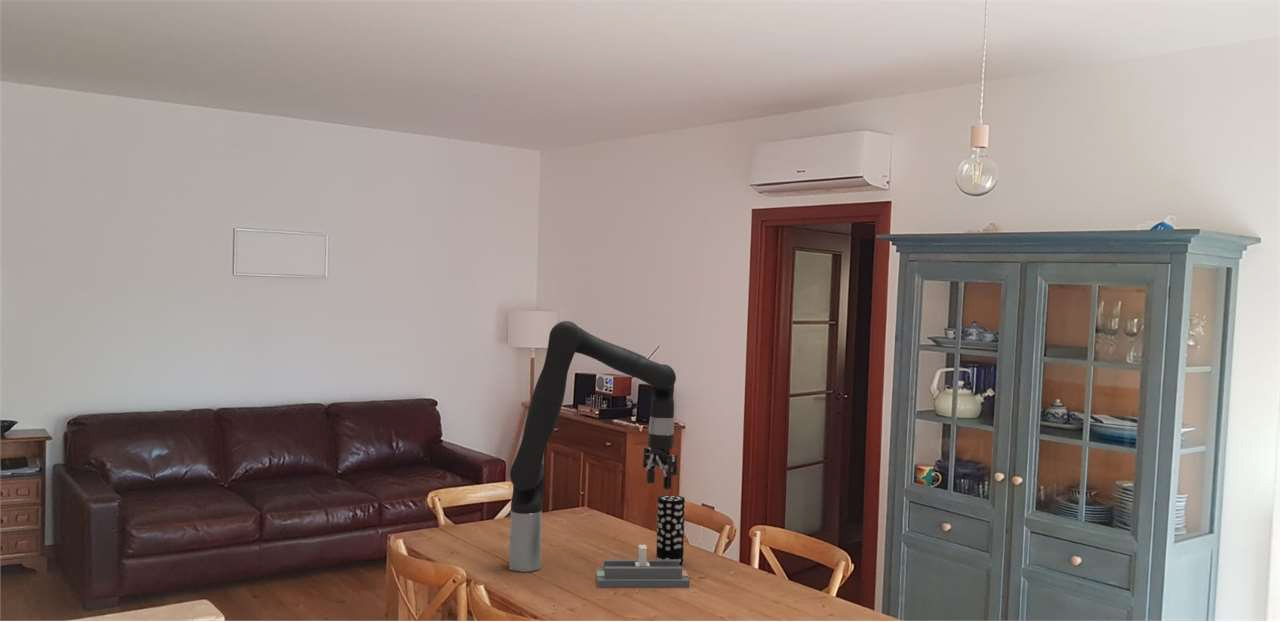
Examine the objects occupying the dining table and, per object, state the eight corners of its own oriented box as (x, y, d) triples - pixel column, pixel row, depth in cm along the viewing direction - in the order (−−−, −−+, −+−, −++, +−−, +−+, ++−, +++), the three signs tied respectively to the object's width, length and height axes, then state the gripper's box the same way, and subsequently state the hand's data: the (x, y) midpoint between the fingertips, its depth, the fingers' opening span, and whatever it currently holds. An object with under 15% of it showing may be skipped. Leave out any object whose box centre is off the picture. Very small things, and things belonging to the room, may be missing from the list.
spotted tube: (680, 567, 287) (682, 502, 286) (653, 565, 288) (655, 500, 288) (685, 560, 295) (686, 496, 294) (658, 558, 296) (660, 494, 296)
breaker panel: (597, 587, 266) (597, 570, 266) (596, 574, 278) (596, 557, 278) (689, 587, 268) (689, 570, 268) (684, 574, 280) (684, 557, 280)
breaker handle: (635, 575, 271) (636, 548, 270) (634, 571, 275) (635, 544, 274) (649, 575, 271) (650, 548, 271) (648, 571, 275) (649, 544, 275)
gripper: (637, 428, 286) (635, 482, 286) (664, 436, 274) (662, 492, 274) (657, 427, 290) (655, 480, 290) (685, 435, 278) (683, 489, 279)
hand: (658, 486), depth 282 cm, fingers open, 8 cm apart
